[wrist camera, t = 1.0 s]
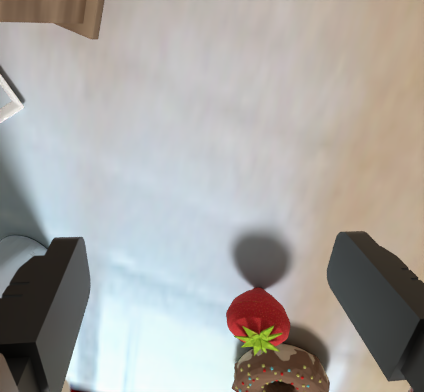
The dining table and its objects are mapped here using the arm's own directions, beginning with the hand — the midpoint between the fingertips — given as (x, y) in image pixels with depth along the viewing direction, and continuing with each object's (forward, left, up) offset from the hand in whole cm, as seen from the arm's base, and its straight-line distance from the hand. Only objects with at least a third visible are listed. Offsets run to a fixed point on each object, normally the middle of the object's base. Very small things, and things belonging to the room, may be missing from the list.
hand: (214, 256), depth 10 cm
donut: (-11, -39, -24) cm, 47 cm away
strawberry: (-8, -23, -24) cm, 34 cm away
